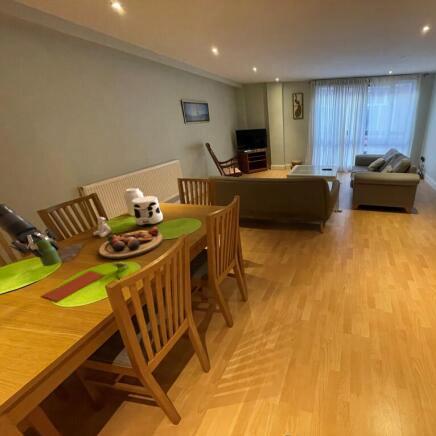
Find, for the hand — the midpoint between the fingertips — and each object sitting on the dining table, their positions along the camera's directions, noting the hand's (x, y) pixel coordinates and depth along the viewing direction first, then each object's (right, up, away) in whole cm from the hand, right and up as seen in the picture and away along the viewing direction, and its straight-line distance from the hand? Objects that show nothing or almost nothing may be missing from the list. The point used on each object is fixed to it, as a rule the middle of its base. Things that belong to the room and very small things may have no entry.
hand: (50, 252), depth 103 cm
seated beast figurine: (-19, +4, +53) cm, 57 cm away
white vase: (-19, +19, +88) cm, 92 cm away
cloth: (+6, -16, +5) cm, 17 cm away
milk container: (+2, +11, +70) cm, 71 cm away
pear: (-2, -5, +2) cm, 6 cm away
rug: (-21, -5, +31) cm, 38 cm away
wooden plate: (+10, -2, +39) cm, 40 cm away
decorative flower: (+23, -12, +13) cm, 29 cm away
